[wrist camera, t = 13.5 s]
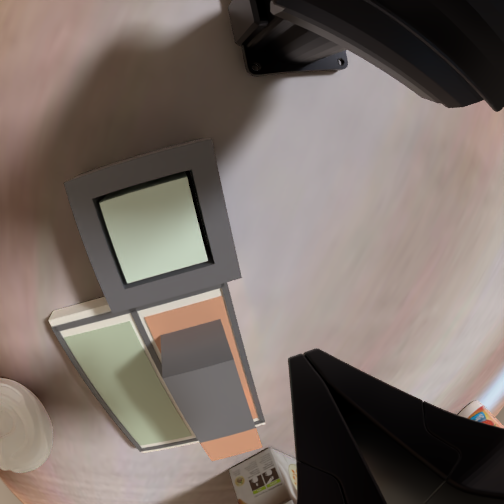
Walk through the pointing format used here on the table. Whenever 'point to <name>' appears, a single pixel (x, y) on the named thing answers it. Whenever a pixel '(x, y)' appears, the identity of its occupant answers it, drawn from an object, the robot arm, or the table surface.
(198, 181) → the button housing
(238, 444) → the orange-tipped gray block
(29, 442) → the white steamed bun
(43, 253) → the table surface
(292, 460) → the coffee box
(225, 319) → the picture board
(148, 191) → the button
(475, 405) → the fruit juice
